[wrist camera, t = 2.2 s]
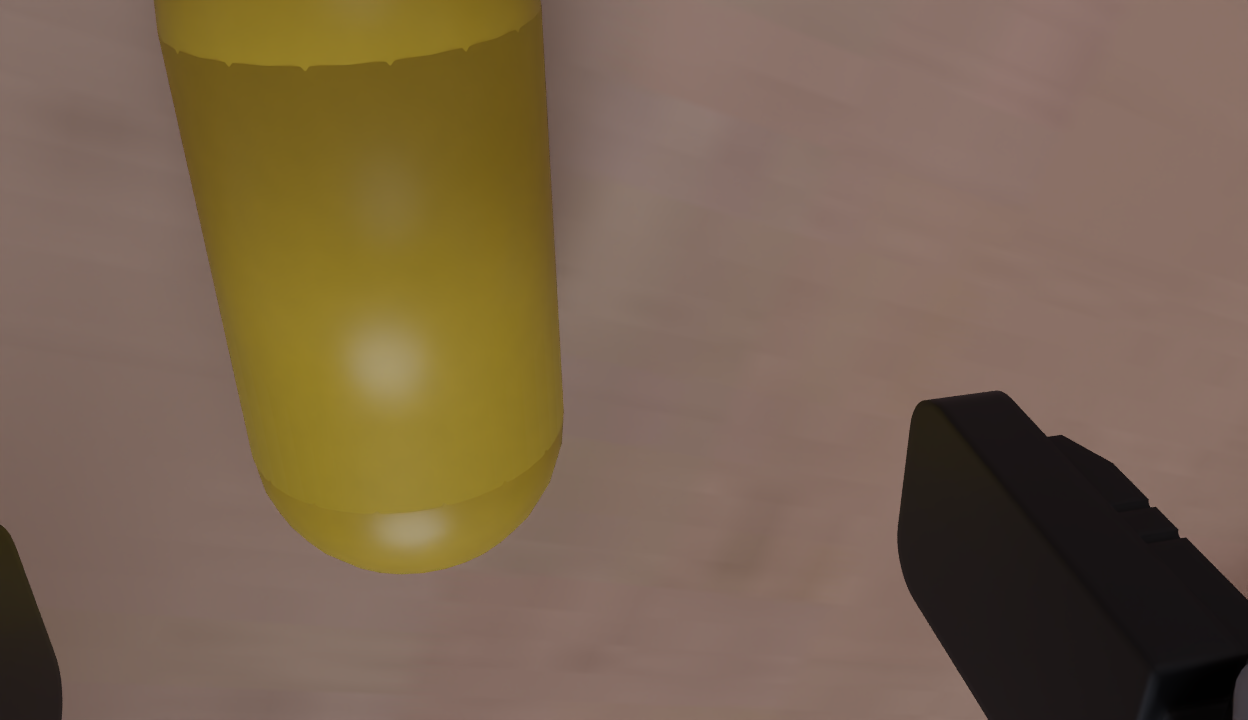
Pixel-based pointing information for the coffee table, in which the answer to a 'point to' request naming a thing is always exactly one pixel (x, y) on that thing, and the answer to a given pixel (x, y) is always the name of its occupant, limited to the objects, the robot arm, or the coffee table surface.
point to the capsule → (380, 260)
